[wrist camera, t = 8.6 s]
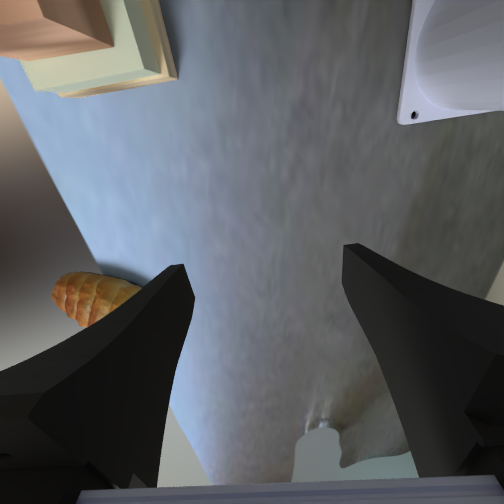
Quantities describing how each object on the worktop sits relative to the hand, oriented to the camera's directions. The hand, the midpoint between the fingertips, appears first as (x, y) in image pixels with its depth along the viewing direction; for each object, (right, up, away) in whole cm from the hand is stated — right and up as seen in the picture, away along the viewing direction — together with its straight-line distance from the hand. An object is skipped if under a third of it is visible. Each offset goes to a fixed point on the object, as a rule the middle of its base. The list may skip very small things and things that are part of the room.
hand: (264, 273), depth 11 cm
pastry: (-15, -4, +15) cm, 22 cm away
